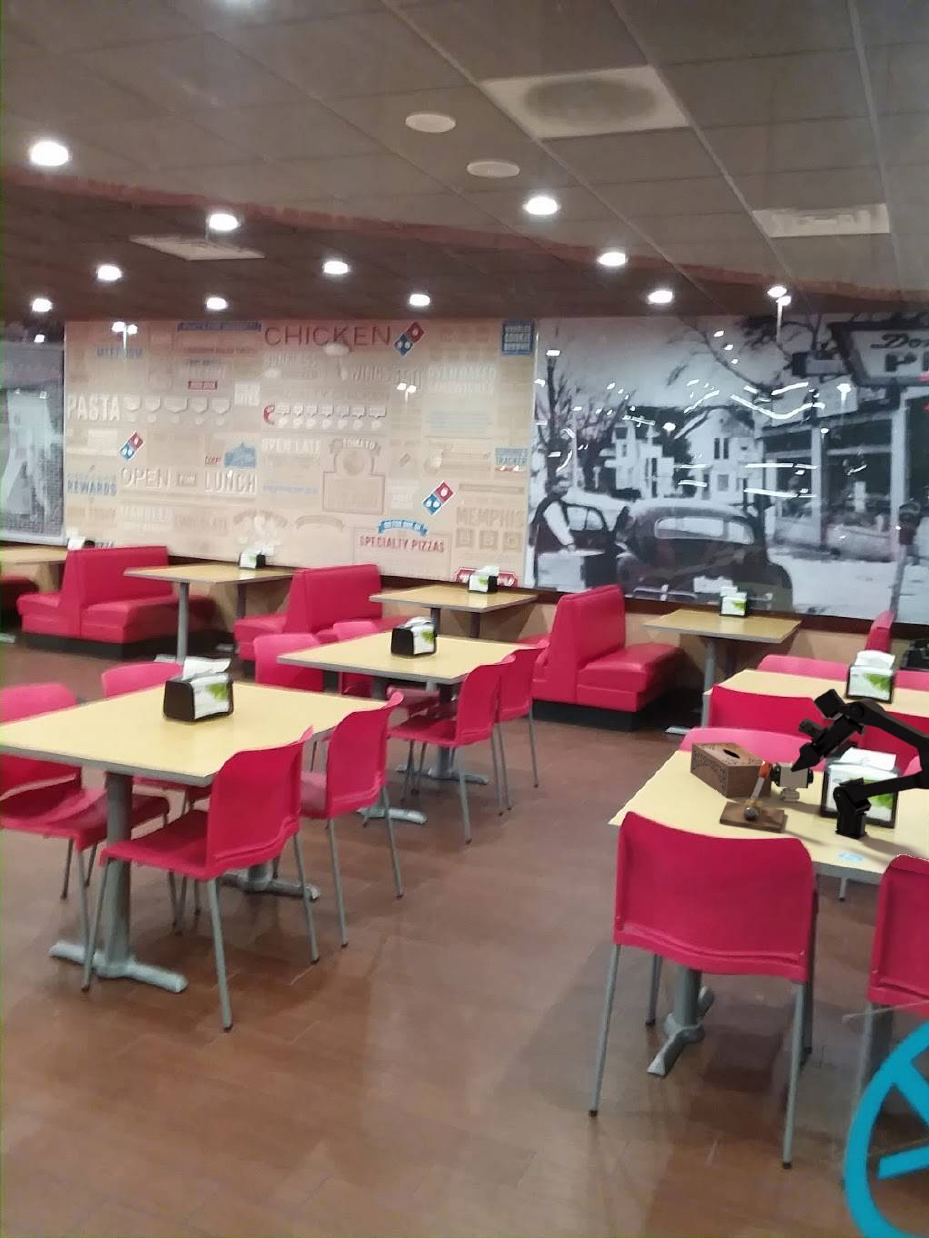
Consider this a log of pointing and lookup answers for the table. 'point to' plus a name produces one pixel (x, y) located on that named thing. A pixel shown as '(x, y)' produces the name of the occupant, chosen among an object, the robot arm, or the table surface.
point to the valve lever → (762, 777)
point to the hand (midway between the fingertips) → (796, 767)
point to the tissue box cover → (728, 769)
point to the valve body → (752, 809)
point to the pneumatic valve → (790, 780)
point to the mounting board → (767, 821)
